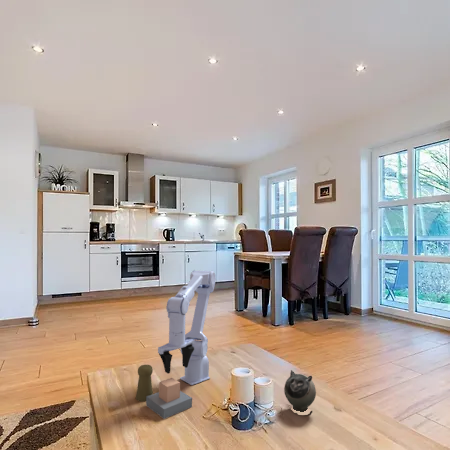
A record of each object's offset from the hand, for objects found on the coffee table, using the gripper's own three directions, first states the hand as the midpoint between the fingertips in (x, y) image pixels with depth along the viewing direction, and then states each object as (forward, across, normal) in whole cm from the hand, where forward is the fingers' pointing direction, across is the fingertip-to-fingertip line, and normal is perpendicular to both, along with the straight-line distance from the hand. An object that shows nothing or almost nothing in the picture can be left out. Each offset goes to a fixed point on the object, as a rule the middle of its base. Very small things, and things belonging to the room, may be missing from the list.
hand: (176, 369), depth 115 cm
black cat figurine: (+10, -26, +35) cm, 44 cm away
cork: (+10, +8, -8) cm, 15 cm away
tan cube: (+7, +5, +4) cm, 9 cm away
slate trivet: (+10, +5, +4) cm, 12 cm away
